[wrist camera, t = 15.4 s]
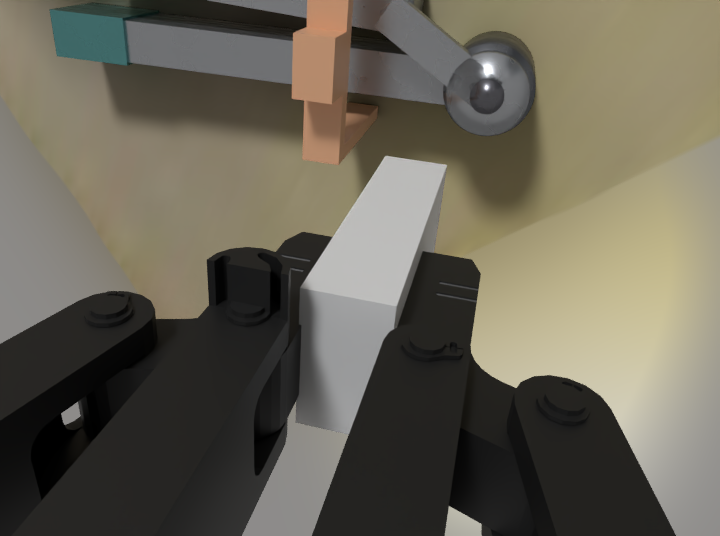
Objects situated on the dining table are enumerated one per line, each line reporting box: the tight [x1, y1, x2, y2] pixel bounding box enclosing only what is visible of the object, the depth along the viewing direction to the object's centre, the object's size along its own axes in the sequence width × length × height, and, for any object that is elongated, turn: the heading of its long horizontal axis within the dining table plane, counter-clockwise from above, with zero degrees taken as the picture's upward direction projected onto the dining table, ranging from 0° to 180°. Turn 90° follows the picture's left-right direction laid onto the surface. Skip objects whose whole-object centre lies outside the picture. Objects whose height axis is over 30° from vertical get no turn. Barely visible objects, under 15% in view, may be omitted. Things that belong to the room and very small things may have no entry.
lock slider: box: [292, 0, 378, 165], centre depth 34 cm, size 2×10×12 cm, turn 175°
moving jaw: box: [209, 0, 530, 136], centre depth 37 cm, size 27×7×6 cm, turn 82°
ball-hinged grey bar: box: [50, 3, 535, 136], centre depth 39 cm, size 30×5×5 cm, turn 85°
